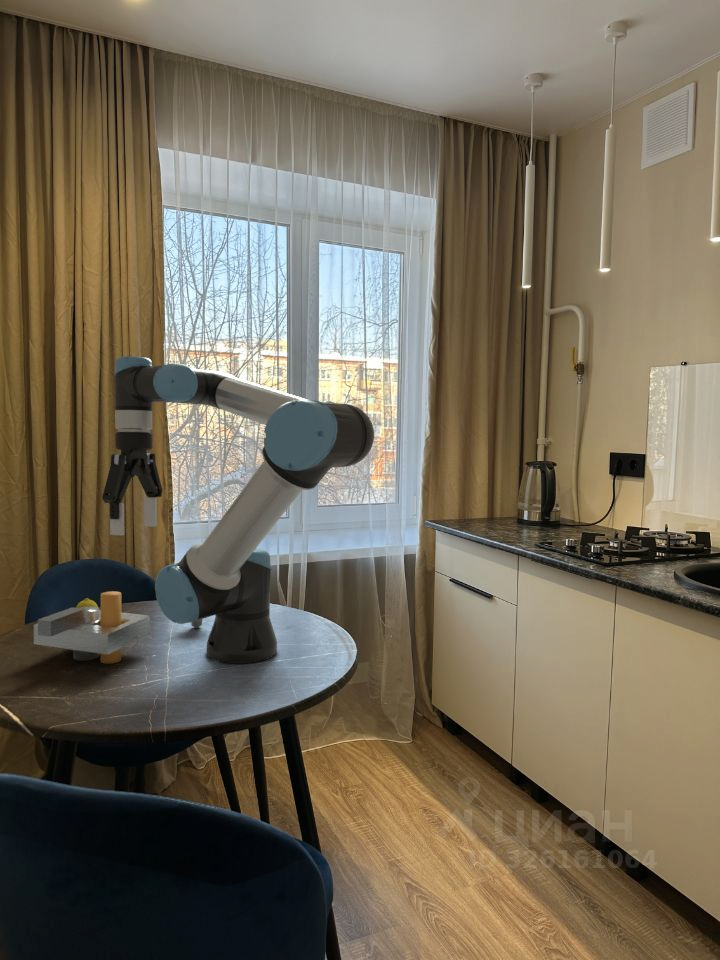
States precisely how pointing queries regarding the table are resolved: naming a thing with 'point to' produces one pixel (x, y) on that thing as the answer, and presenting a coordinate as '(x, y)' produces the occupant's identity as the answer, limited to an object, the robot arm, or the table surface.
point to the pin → (111, 620)
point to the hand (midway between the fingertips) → (134, 530)
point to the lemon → (87, 603)
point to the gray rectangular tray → (89, 632)
